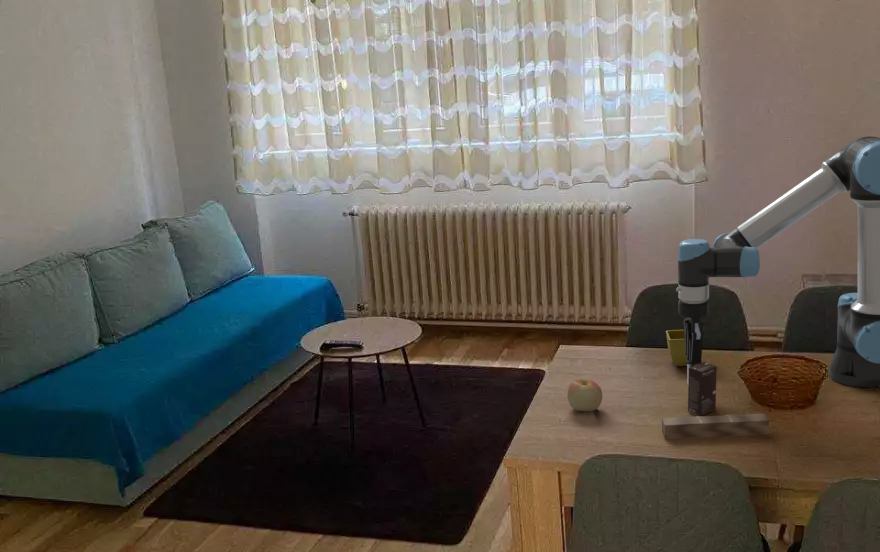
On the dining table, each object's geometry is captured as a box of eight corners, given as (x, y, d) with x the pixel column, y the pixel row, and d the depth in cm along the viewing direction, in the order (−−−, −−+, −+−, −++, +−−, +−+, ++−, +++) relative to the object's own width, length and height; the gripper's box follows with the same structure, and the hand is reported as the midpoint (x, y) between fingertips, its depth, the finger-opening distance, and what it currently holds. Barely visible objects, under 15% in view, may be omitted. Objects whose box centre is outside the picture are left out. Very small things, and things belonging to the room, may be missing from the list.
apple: (571, 402, 231) (570, 374, 229) (605, 404, 228) (604, 376, 226) (565, 416, 223) (563, 387, 221) (599, 418, 220) (598, 388, 218)
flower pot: (666, 358, 256) (665, 329, 254) (696, 357, 255) (696, 328, 253) (669, 369, 248) (669, 339, 246) (701, 368, 247) (700, 338, 244)
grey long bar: (763, 426, 207) (763, 413, 206) (768, 434, 203) (768, 419, 202) (662, 431, 209) (661, 417, 208) (665, 438, 205) (664, 424, 205)
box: (701, 417, 216) (701, 371, 213) (687, 411, 219) (686, 367, 216) (717, 410, 219) (717, 365, 216) (703, 405, 222) (703, 361, 219)
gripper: (673, 293, 228) (673, 377, 234) (683, 307, 216) (683, 395, 221) (702, 292, 227) (702, 376, 233) (714, 306, 215) (713, 394, 221)
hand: (693, 385), depth 227 cm, fingers closed
